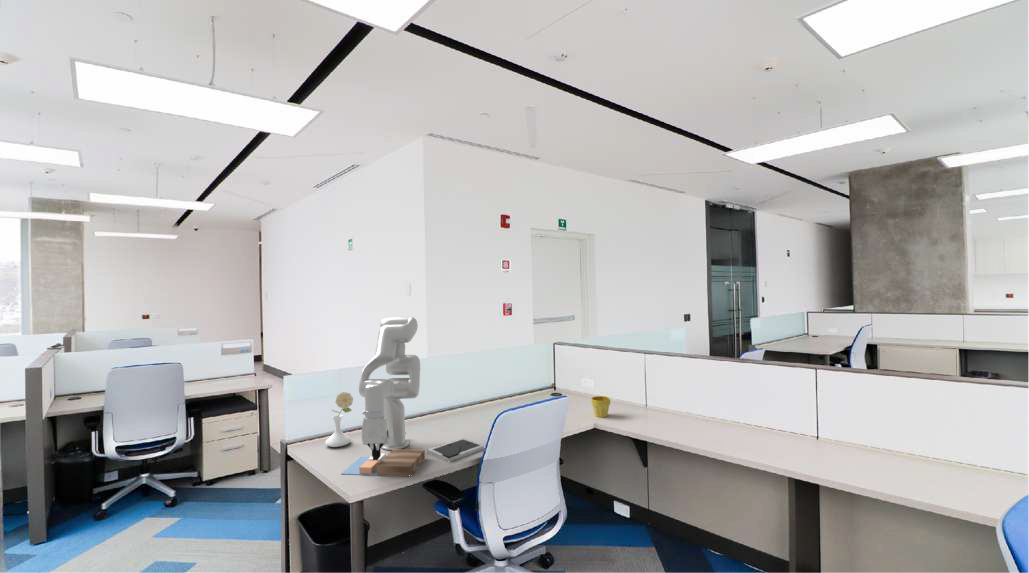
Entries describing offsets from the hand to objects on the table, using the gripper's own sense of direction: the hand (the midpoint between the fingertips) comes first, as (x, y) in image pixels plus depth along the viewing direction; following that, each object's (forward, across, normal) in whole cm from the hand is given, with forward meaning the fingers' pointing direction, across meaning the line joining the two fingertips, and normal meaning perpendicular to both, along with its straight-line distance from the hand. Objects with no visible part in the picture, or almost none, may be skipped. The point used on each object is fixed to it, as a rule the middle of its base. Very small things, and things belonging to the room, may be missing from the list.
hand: (376, 458), depth 196 cm
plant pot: (+5, +95, +80) cm, 125 cm away
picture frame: (+6, +28, +24) cm, 37 cm away
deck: (+5, +9, +4) cm, 11 cm away
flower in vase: (+5, -30, +28) cm, 42 cm away
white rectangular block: (+3, -3, +8) cm, 9 cm away
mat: (+5, -6, +4) cm, 9 cm away
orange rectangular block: (+3, -3, 0) cm, 5 cm away
